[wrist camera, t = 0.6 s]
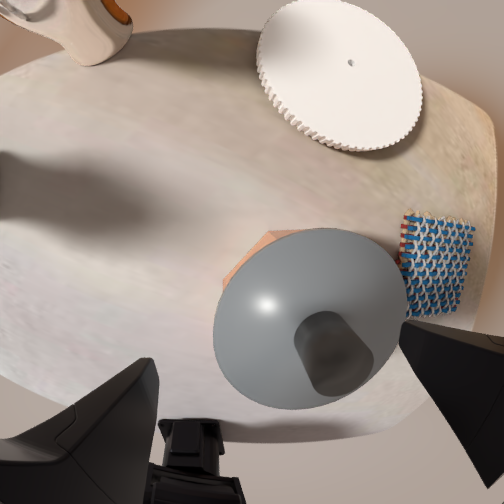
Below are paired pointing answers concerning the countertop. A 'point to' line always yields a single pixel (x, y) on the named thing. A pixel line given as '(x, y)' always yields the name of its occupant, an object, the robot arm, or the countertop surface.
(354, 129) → the plastic lid
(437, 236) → the woven mat
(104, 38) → the beer glass
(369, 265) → the cover
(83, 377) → the countertop surface
